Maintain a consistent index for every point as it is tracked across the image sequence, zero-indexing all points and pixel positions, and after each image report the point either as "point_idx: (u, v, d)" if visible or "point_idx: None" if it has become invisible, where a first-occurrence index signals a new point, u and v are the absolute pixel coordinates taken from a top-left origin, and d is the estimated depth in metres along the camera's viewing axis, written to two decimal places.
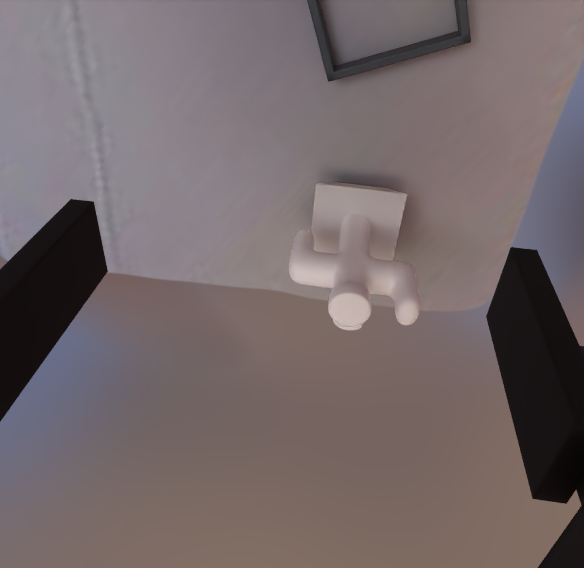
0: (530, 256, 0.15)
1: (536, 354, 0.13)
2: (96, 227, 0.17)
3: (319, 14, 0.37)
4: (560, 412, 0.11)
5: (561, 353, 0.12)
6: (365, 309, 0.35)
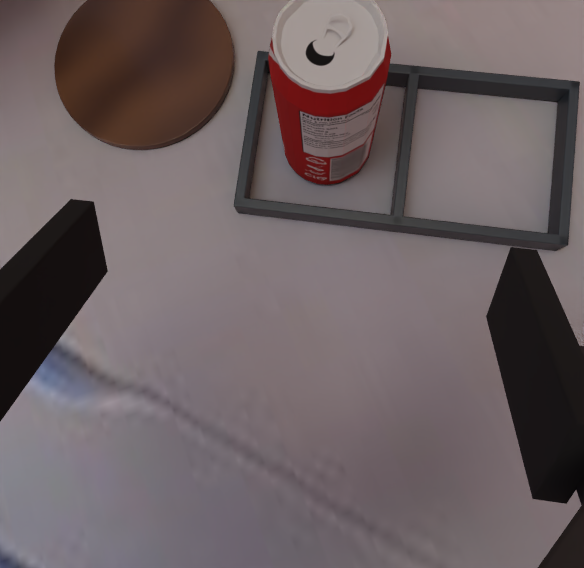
0: (530, 256, 0.15)
1: (536, 354, 0.13)
2: (96, 227, 0.17)
3: None
4: (560, 412, 0.11)
5: (561, 353, 0.12)
6: None
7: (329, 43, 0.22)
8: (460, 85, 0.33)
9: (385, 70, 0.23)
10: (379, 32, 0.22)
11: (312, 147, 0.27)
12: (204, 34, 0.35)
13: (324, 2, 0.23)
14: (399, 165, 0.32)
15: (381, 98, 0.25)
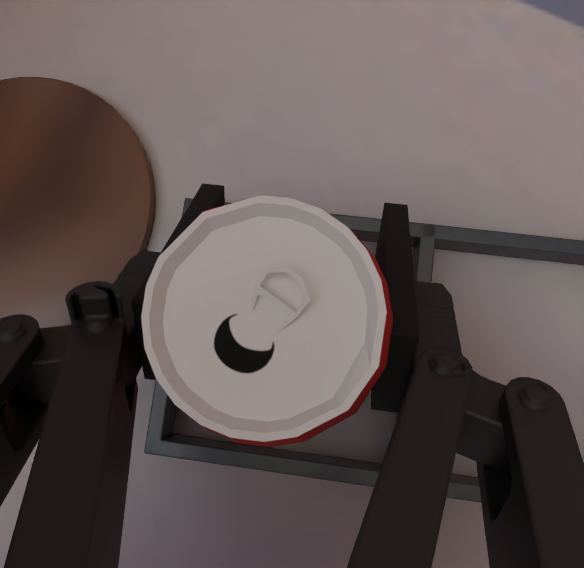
0: (399, 210, 0.17)
1: None
2: None
3: None
4: None
5: (395, 283, 0.14)
6: None
7: (264, 321, 0.11)
8: (499, 251, 0.21)
9: (382, 366, 0.11)
10: (368, 303, 0.10)
11: None
12: (108, 165, 0.23)
13: (254, 230, 0.11)
14: None
15: None
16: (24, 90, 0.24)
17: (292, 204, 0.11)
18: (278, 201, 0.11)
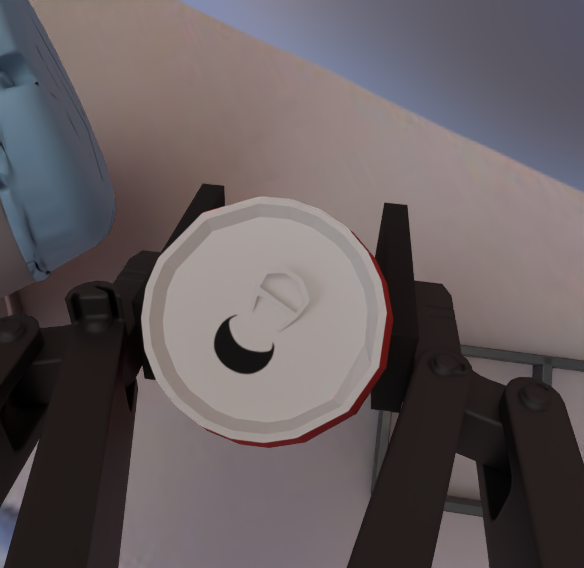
0: (399, 210, 0.17)
1: None
2: None
3: None
4: None
5: (395, 283, 0.14)
6: None
7: (264, 321, 0.11)
8: None
9: (382, 367, 0.11)
10: (368, 304, 0.10)
11: None
12: None
13: (254, 231, 0.11)
14: None
15: None
16: None
17: (292, 205, 0.11)
18: (278, 202, 0.11)
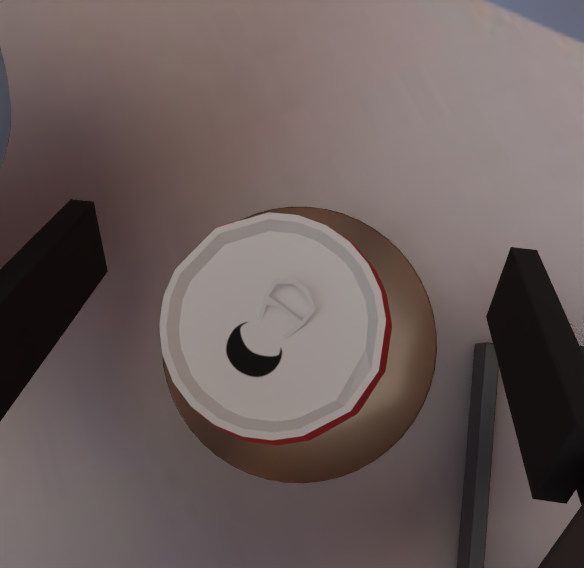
0: (530, 256, 0.15)
1: (536, 354, 0.13)
2: (96, 227, 0.17)
3: None
4: (560, 412, 0.11)
5: (561, 353, 0.12)
6: None
7: (272, 328, 0.12)
8: None
9: (381, 370, 0.12)
10: (369, 312, 0.11)
11: None
12: (390, 300, 0.23)
13: (263, 244, 0.12)
14: None
15: None
16: None
17: (298, 220, 0.12)
18: (285, 218, 0.12)
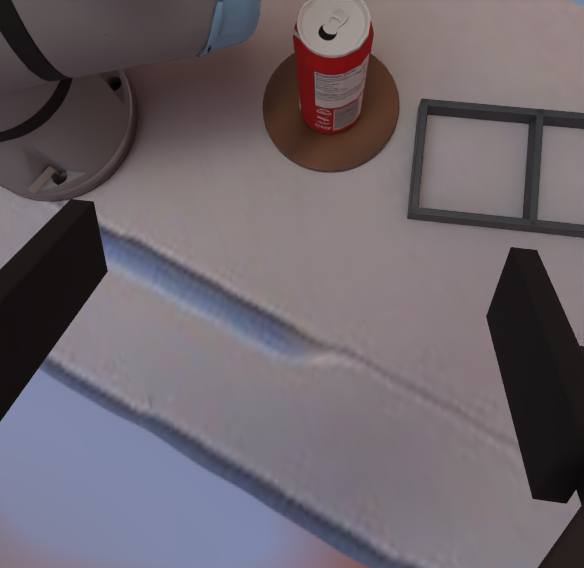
0: (530, 256, 0.15)
1: (536, 354, 0.13)
2: (96, 227, 0.17)
3: None
4: (560, 412, 0.11)
5: (561, 353, 0.12)
6: None
7: (333, 26, 0.35)
8: (572, 123, 0.45)
9: (369, 43, 0.35)
10: (365, 19, 0.35)
11: (322, 100, 0.40)
12: (376, 85, 0.46)
13: (330, 0, 0.35)
14: (532, 182, 0.43)
15: (368, 64, 0.38)
16: None
17: None
18: None
